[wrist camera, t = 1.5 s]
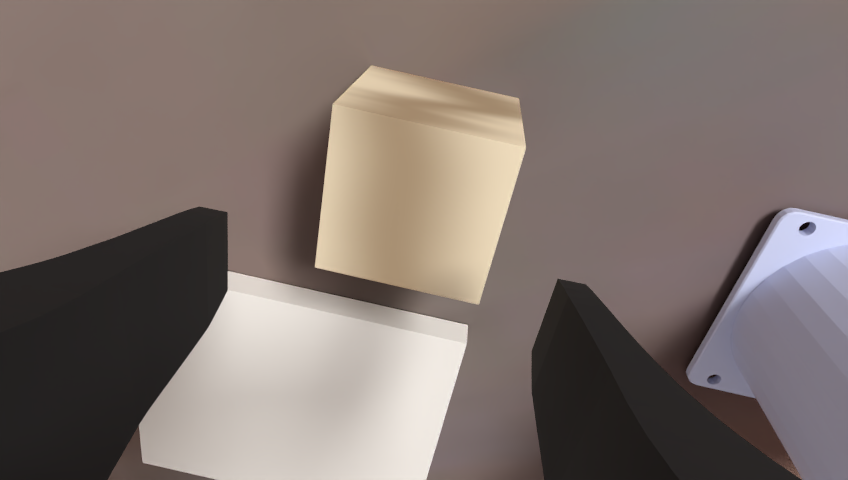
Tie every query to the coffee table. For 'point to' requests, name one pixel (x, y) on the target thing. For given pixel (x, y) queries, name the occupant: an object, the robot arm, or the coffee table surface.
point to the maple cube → (418, 182)
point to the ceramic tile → (306, 389)
